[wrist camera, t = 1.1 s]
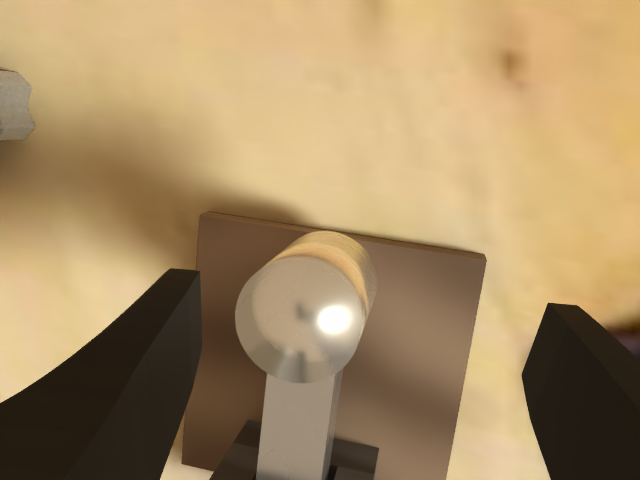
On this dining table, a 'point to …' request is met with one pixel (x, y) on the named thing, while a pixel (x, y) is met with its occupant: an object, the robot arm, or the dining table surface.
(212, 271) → the block
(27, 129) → the grey rocky ruin
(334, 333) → the grey mallet
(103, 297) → the dining table surface
